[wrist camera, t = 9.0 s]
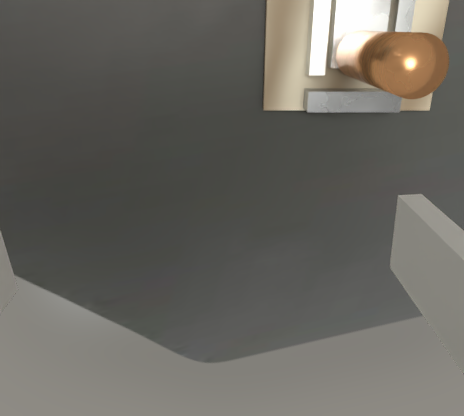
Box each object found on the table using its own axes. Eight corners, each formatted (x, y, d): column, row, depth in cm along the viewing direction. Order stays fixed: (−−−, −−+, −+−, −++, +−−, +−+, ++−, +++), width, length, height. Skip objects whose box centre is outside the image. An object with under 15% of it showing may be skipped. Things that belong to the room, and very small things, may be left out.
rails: (302, 108, 36) (307, 112, 34) (313, -56, 32) (319, -61, 30) (390, 107, 36) (399, 112, 34) (414, -55, 32) (426, -60, 30)
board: (262, 108, 37) (263, 110, 36) (269, -102, 31) (270, -105, 30) (425, 108, 37) (429, 110, 36) (461, -101, 31) (467, -104, 30)
